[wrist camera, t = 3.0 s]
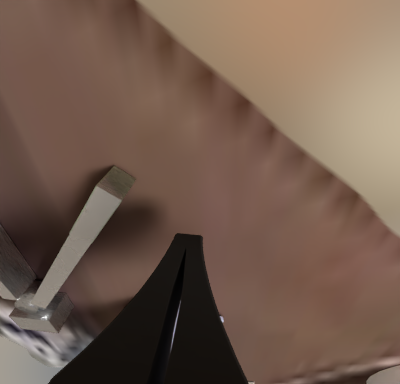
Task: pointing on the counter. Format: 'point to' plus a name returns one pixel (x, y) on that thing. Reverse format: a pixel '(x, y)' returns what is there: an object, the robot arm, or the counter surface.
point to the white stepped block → (386, 376)
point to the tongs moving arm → (78, 239)
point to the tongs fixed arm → (18, 283)
